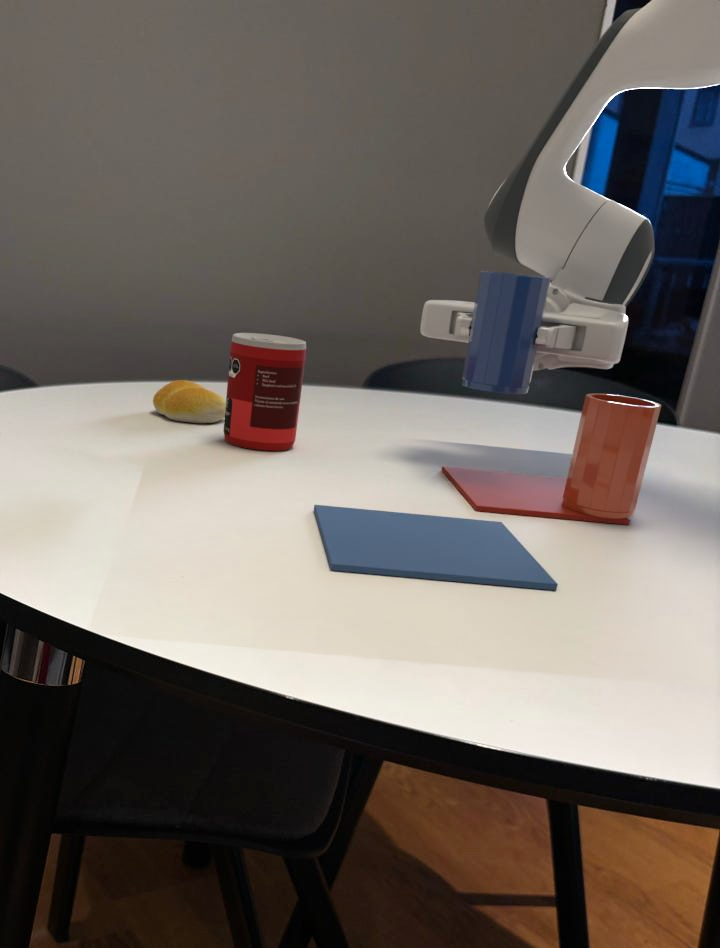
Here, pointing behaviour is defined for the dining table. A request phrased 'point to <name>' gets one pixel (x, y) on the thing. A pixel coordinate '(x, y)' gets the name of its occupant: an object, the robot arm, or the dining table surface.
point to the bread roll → (189, 403)
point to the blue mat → (427, 548)
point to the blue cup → (505, 332)
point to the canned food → (264, 391)
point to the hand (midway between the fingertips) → (503, 332)
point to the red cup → (610, 455)
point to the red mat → (517, 494)
